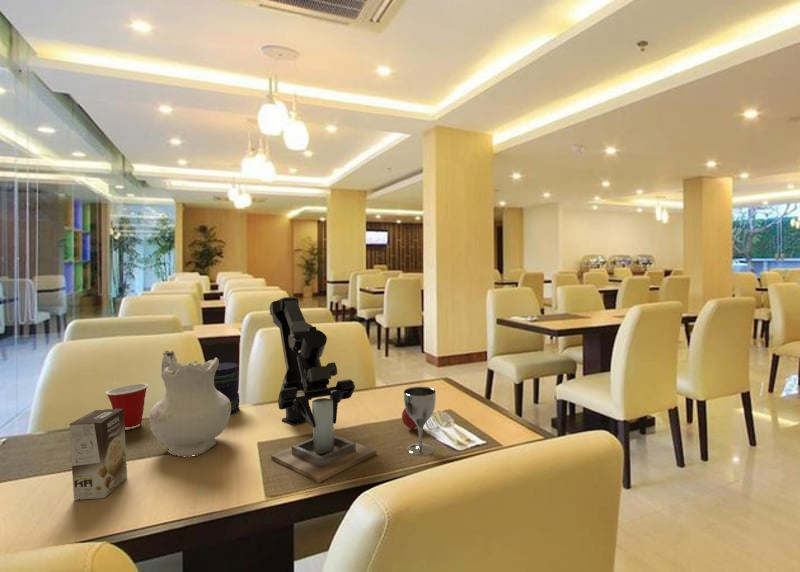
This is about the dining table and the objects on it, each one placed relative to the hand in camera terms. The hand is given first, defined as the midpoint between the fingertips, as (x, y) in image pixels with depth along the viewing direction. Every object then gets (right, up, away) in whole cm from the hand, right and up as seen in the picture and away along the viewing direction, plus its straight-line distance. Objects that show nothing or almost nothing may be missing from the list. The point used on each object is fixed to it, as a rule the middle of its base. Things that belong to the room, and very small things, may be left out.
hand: (324, 424), depth 109 cm
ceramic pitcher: (-37, -9, +10) cm, 39 cm away
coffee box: (-46, -10, -12) cm, 49 cm away
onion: (+22, -7, +18) cm, 29 cm away
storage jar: (-38, -7, +36) cm, 53 cm away
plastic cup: (-62, -8, +24) cm, 67 cm away
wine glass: (+23, -8, +5) cm, 25 cm away
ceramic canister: (0, -7, +2) cm, 7 cm away
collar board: (0, -8, +2) cm, 9 cm away
